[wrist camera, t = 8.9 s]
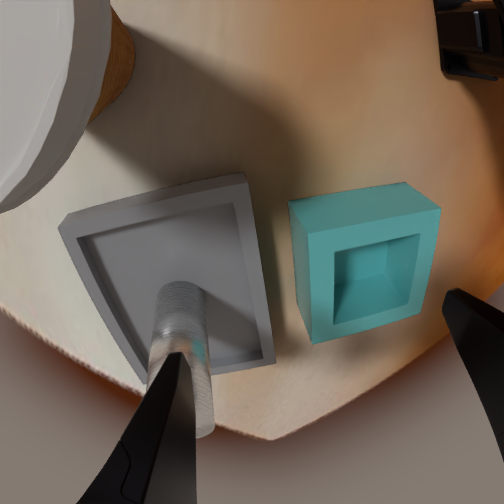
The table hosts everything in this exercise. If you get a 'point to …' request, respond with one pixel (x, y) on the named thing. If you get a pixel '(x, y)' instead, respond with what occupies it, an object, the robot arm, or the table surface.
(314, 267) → the teal square open box
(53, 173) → the disposable coffee cup
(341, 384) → the table surface
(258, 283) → the charcoal tray
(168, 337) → the steel pin
